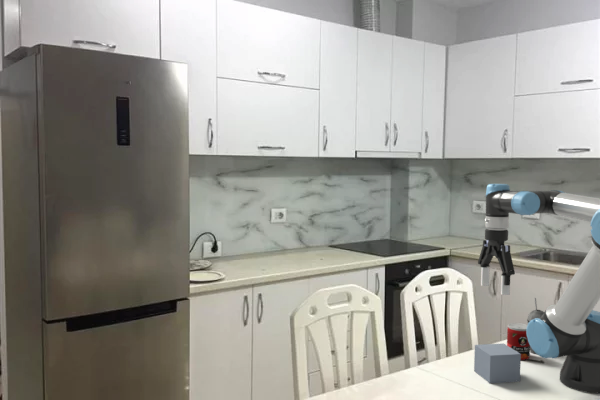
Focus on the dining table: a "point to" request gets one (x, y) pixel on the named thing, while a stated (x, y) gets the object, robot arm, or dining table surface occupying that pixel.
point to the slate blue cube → (497, 363)
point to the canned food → (518, 339)
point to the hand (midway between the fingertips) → (494, 289)
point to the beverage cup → (532, 316)
